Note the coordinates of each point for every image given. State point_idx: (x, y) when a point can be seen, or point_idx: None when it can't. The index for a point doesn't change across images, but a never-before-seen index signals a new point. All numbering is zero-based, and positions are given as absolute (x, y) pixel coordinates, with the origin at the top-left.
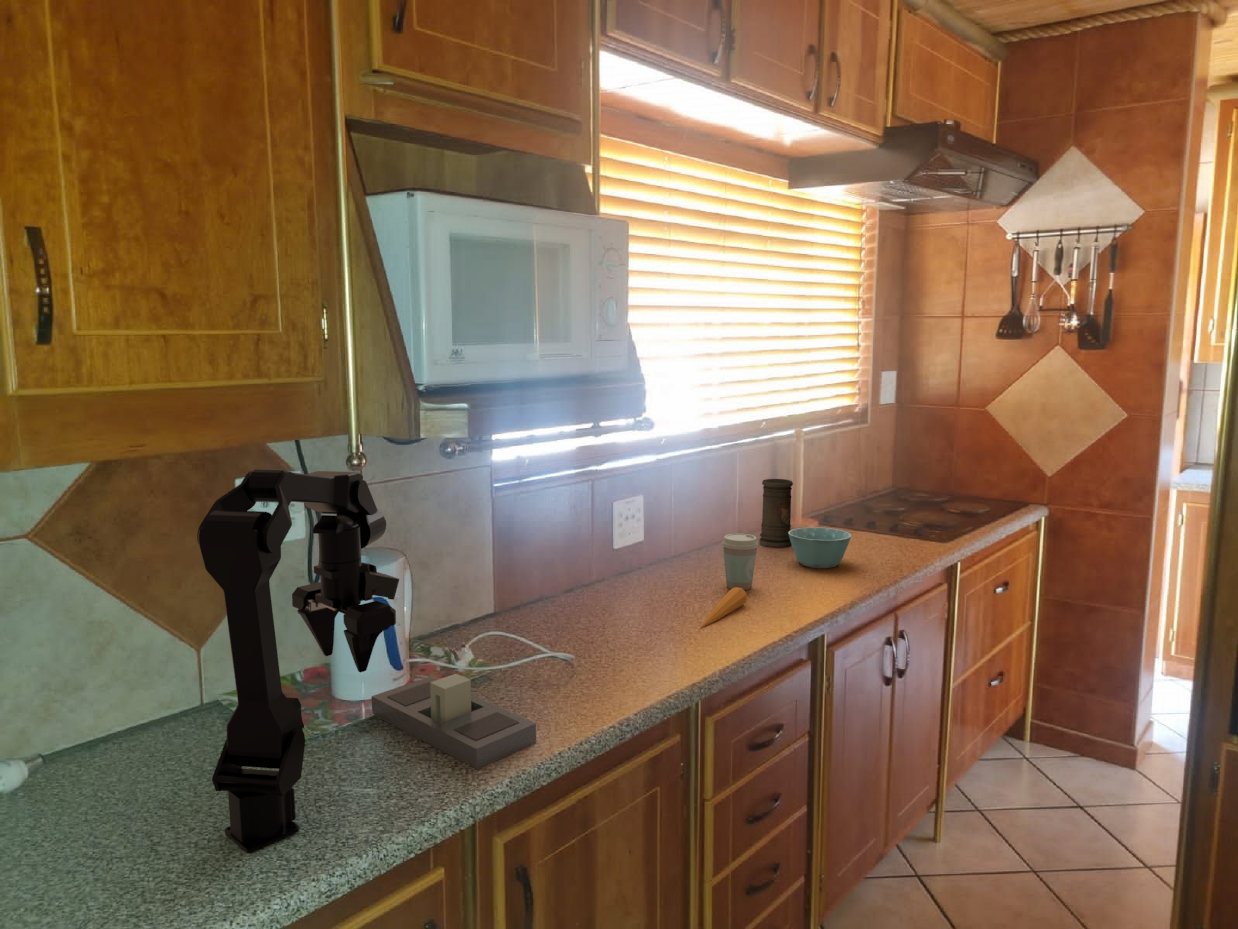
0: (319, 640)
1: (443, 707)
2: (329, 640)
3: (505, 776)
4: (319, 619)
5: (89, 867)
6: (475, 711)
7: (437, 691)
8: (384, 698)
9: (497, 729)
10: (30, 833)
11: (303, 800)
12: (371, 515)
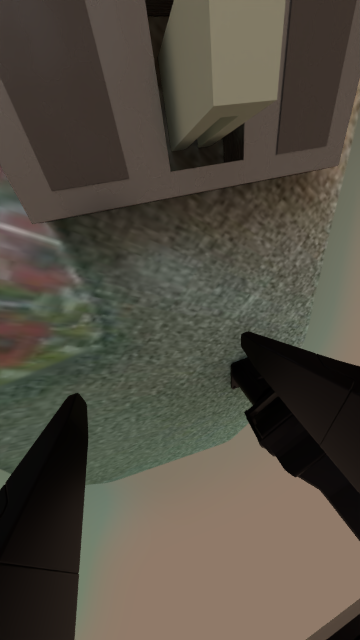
0: (85, 473)
1: (236, 124)
2: (68, 444)
3: (344, 147)
4: (47, 614)
5: (213, 431)
6: None
7: (236, 111)
8: (60, 202)
9: (339, 68)
10: (161, 460)
11: (228, 345)
12: None
